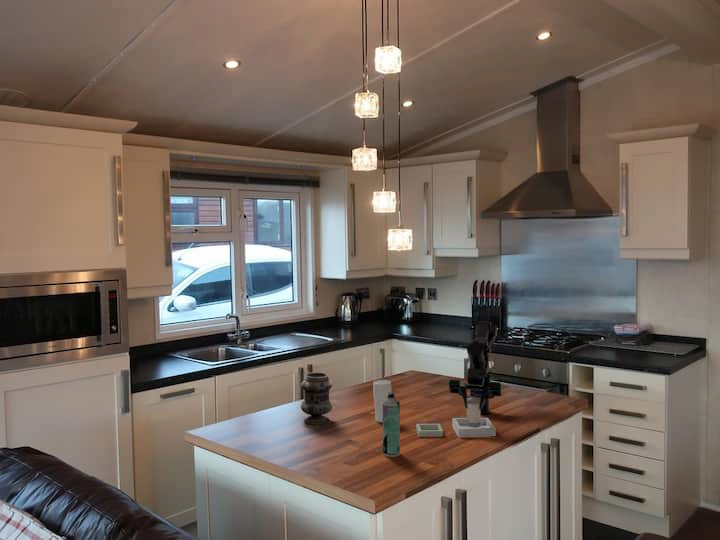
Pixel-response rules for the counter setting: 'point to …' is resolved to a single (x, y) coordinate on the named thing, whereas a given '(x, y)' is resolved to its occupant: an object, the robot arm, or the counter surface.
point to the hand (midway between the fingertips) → (473, 408)
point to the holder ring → (429, 430)
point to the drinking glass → (380, 397)
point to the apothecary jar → (316, 397)
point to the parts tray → (465, 431)
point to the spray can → (391, 426)
